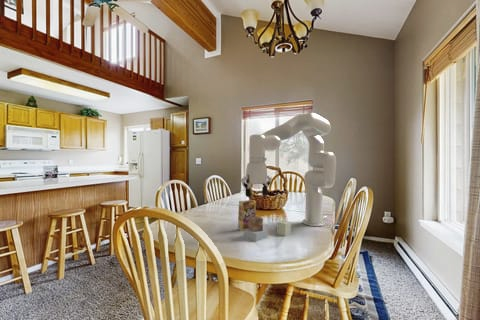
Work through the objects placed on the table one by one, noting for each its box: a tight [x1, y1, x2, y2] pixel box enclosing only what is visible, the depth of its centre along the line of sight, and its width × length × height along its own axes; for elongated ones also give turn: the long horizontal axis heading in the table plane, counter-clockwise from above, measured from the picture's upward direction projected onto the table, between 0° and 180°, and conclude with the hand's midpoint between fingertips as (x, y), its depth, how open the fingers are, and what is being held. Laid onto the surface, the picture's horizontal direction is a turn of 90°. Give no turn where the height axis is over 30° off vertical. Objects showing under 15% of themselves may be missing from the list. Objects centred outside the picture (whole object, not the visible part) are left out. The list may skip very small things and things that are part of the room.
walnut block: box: [249, 215, 264, 232], centre depth 112 cm, size 5×5×6 cm
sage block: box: [276, 219, 292, 237], centre depth 118 cm, size 5×5×6 cm
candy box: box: [237, 199, 257, 232], centre depth 124 cm, size 9×4×15 cm, turn 123°
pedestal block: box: [243, 228, 268, 243], centre depth 112 cm, size 8×8×4 cm
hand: (256, 195), depth 112 cm, fingers open, 9 cm apart
